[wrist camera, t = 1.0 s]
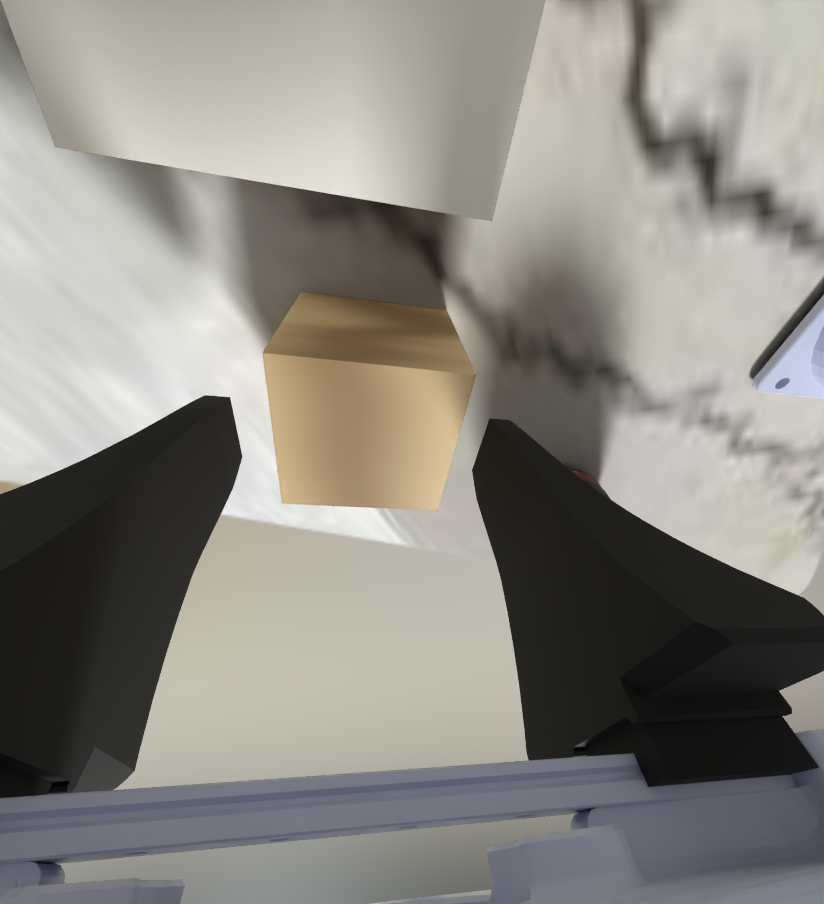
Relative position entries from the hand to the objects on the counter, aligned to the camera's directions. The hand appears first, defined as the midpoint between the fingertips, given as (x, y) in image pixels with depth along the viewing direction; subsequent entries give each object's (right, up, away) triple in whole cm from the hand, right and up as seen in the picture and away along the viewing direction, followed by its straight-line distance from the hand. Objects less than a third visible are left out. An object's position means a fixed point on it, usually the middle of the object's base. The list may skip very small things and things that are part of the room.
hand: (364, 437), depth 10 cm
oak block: (0, +3, +3) cm, 5 cm away
